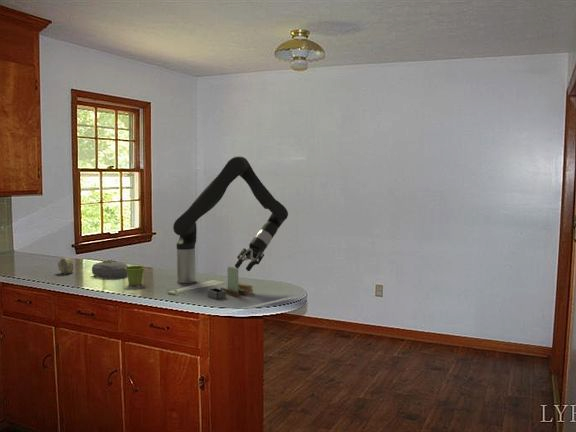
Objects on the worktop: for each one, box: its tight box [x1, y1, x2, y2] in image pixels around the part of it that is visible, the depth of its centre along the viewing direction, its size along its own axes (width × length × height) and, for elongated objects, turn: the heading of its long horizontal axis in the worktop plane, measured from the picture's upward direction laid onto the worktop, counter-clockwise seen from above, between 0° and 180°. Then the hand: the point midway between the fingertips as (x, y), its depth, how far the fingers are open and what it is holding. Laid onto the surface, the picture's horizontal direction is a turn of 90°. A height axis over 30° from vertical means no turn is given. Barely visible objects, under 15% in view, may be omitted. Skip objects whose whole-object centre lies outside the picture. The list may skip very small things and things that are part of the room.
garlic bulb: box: [57, 256, 75, 275], centre depth 287 cm, size 9×8×10 cm
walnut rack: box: [220, 286, 256, 299], centre depth 236 cm, size 10×14×3 cm
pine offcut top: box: [238, 281, 253, 291], centre depth 237 cm, size 3×10×2 cm, turn 42°
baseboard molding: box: [167, 279, 227, 297], centre depth 248 cm, size 31×3×12 cm
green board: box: [227, 266, 239, 292], centre depth 234 cm, size 2×6×12 cm, turn 41°
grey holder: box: [206, 287, 227, 300], centre depth 228 cm, size 5×8×4 cm, turn 42°
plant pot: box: [125, 265, 145, 287], centre depth 258 cm, size 9×9×9 cm
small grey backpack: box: [91, 259, 129, 279], centre depth 280 cm, size 15×8×20 cm
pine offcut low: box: [241, 289, 254, 296], centre depth 237 cm, size 4×12×2 cm, turn 42°
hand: (241, 268), depth 237 cm, fingers open, 8 cm apart
